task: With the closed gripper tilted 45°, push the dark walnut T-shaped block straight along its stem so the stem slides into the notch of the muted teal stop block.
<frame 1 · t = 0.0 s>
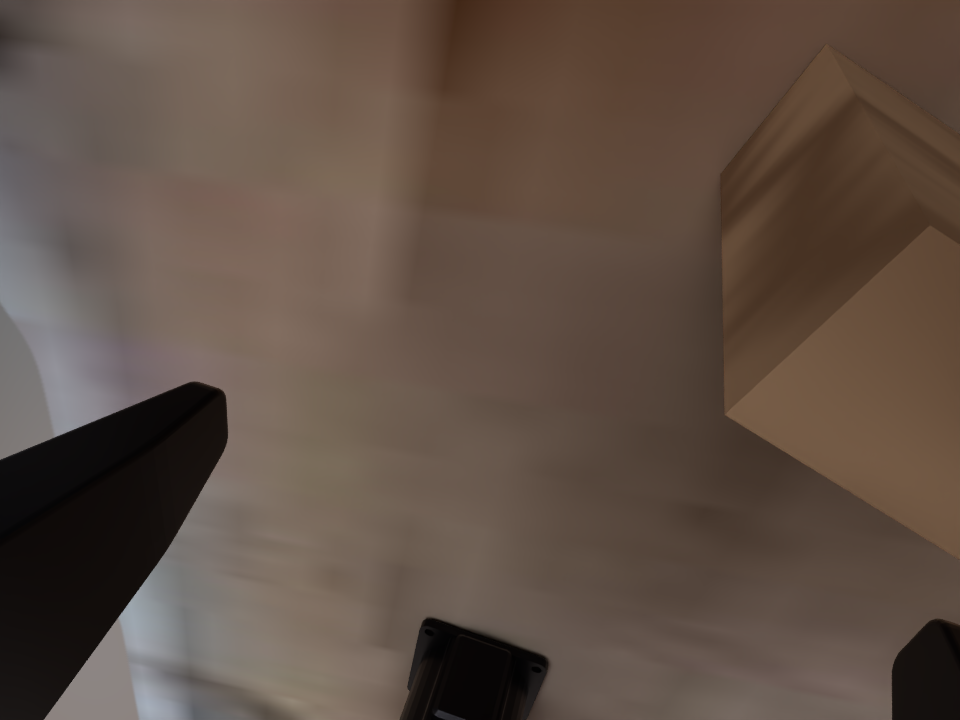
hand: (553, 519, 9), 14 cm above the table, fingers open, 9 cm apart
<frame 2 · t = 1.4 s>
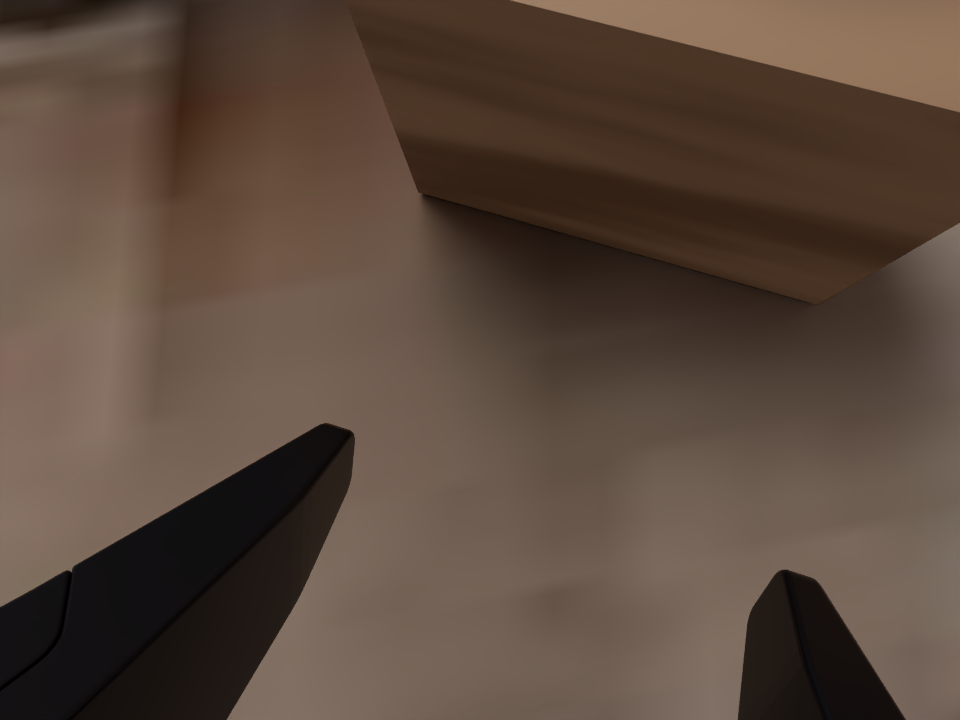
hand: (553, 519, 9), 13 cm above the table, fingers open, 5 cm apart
walnut t block: (663, 77, 24), on the table
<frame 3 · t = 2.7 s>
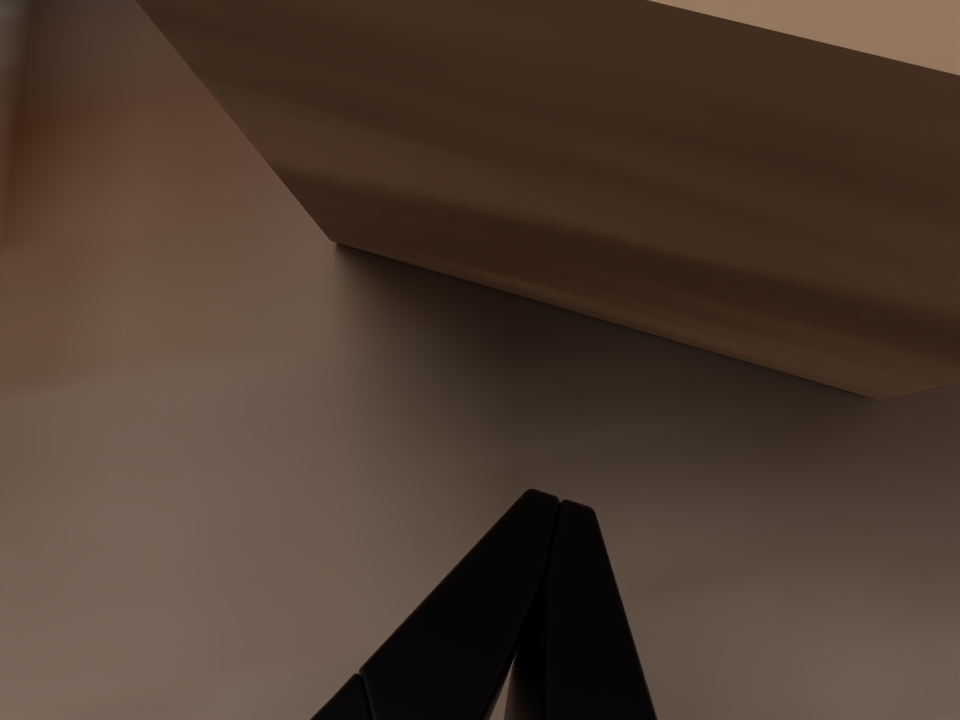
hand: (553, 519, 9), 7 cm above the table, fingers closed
walnut t block: (663, 84, 18), on the table
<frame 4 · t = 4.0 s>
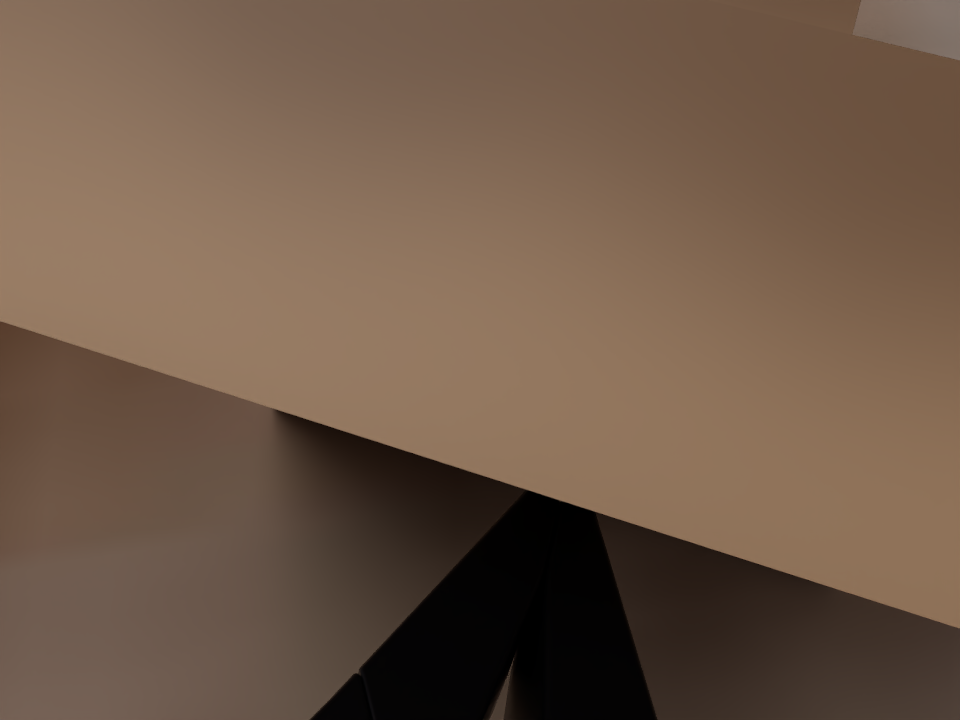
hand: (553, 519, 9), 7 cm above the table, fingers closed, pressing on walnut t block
walnut t block: (618, 240, 17), on the table, touching gripper
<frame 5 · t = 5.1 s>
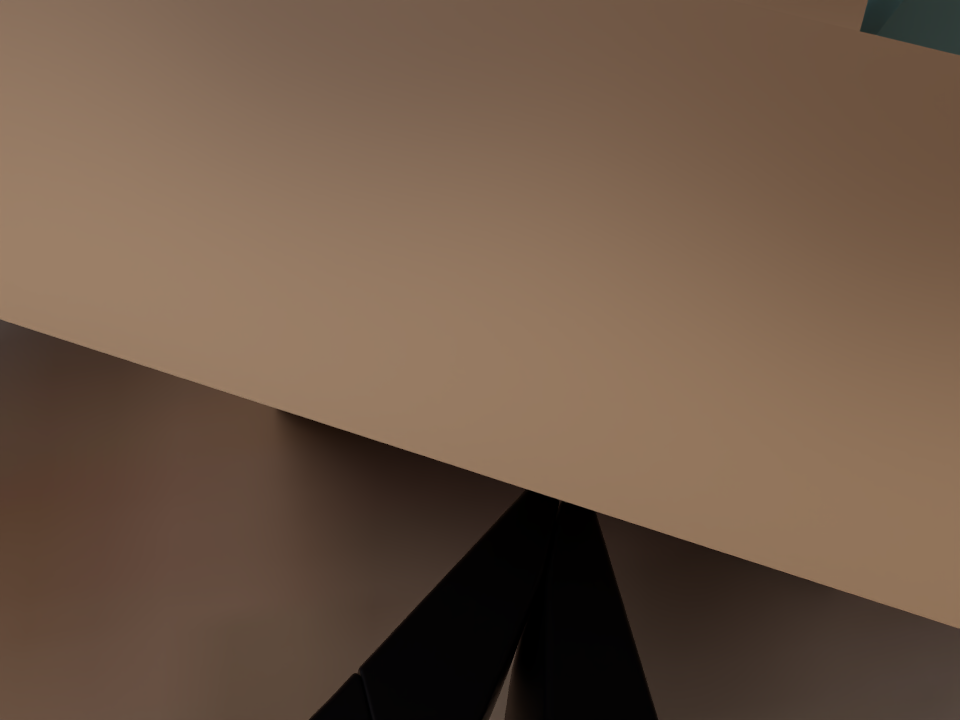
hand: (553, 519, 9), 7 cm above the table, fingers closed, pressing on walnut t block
walnut t block: (621, 239, 17), on the table, touching gripper
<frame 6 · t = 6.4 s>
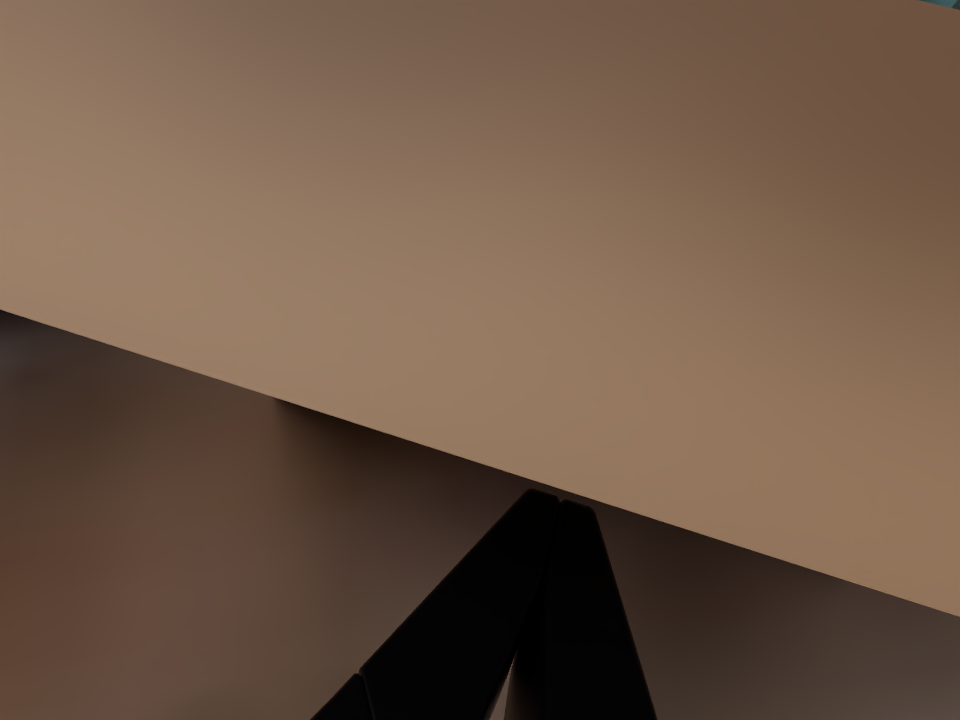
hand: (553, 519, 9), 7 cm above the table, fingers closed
walnut t block: (626, 224, 16), on the table
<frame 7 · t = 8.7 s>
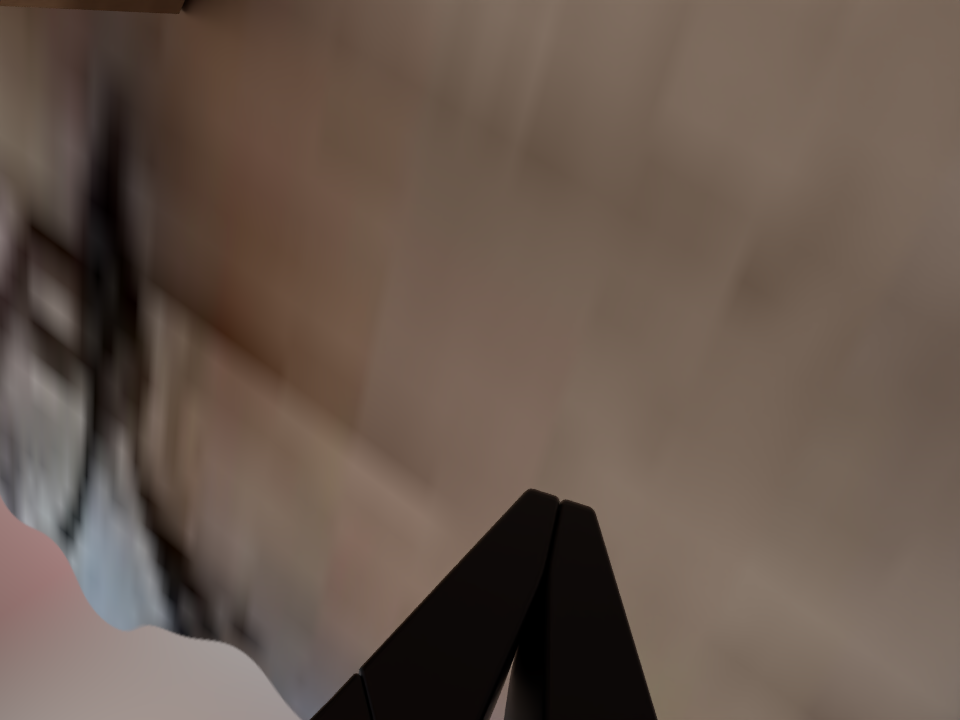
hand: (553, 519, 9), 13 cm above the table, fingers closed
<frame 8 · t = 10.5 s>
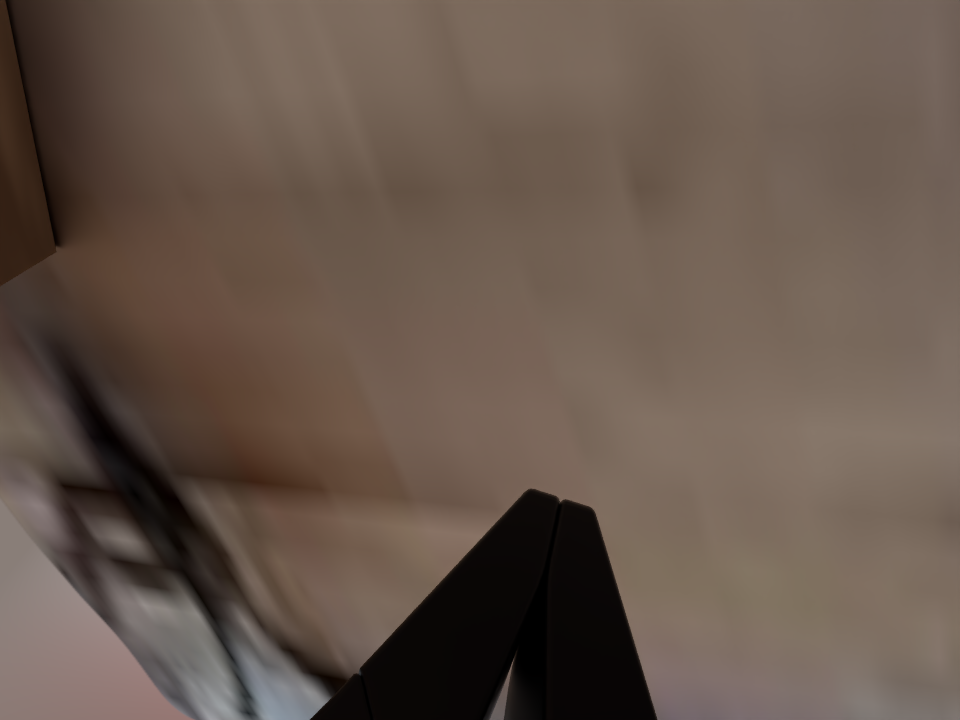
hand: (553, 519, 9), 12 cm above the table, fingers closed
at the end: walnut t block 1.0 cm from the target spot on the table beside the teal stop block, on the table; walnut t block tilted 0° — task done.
